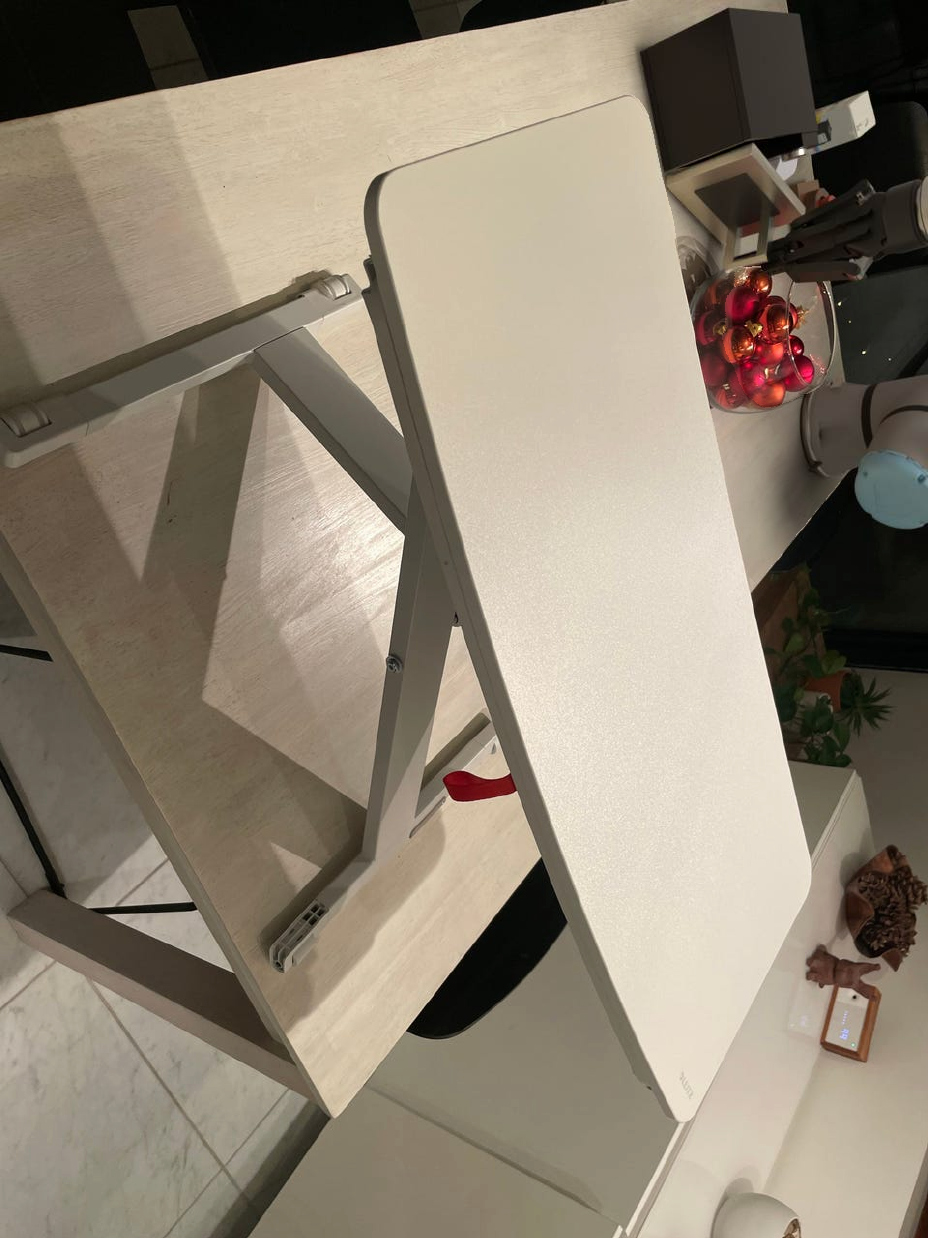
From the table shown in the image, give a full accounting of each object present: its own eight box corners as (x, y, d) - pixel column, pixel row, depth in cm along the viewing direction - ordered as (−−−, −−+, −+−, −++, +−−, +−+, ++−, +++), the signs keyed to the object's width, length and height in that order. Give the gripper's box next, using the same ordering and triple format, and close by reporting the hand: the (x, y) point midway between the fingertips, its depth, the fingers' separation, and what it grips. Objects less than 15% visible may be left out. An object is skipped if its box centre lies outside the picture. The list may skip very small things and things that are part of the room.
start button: (829, 224, 147) (840, 221, 146) (819, 227, 144) (831, 223, 143) (825, 197, 146) (836, 193, 145) (815, 199, 143) (826, 196, 142)
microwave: (738, 179, 133) (821, 149, 125) (667, 192, 120) (755, 159, 112) (714, 53, 129) (799, 13, 121) (638, 51, 116) (728, 6, 107)
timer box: (815, 249, 152) (840, 242, 149) (795, 255, 146) (820, 248, 144) (804, 183, 149) (829, 175, 146) (783, 188, 144) (808, 179, 141)
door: (716, 289, 129) (799, 266, 120) (659, 234, 118) (745, 205, 110) (723, 233, 130) (805, 207, 122) (667, 174, 120) (753, 141, 112)
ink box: (791, 118, 146) (869, 87, 138) (800, 150, 148) (877, 122, 140) (770, 133, 141) (850, 102, 133) (779, 166, 143) (858, 138, 135)
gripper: (920, 141, 108) (733, 207, 125) (910, 246, 105) (720, 299, 122) (943, 178, 113) (760, 237, 130) (933, 279, 110) (748, 326, 127)
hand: (741, 267), depth 126 cm, fingers closed
